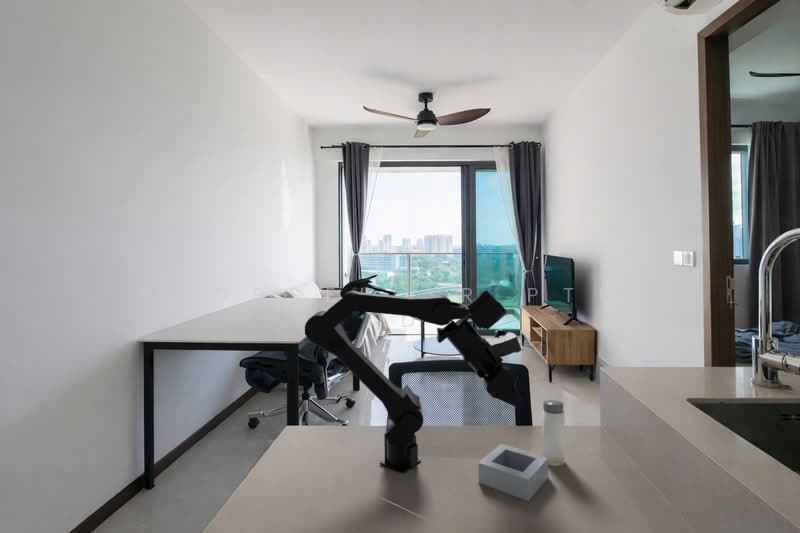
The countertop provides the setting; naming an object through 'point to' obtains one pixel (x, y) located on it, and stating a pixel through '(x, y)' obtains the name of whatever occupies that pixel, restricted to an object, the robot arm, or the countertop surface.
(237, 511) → the countertop surface
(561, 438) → the white plastic bottle
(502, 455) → the socket block
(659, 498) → the countertop surface
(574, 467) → the countertop surface
